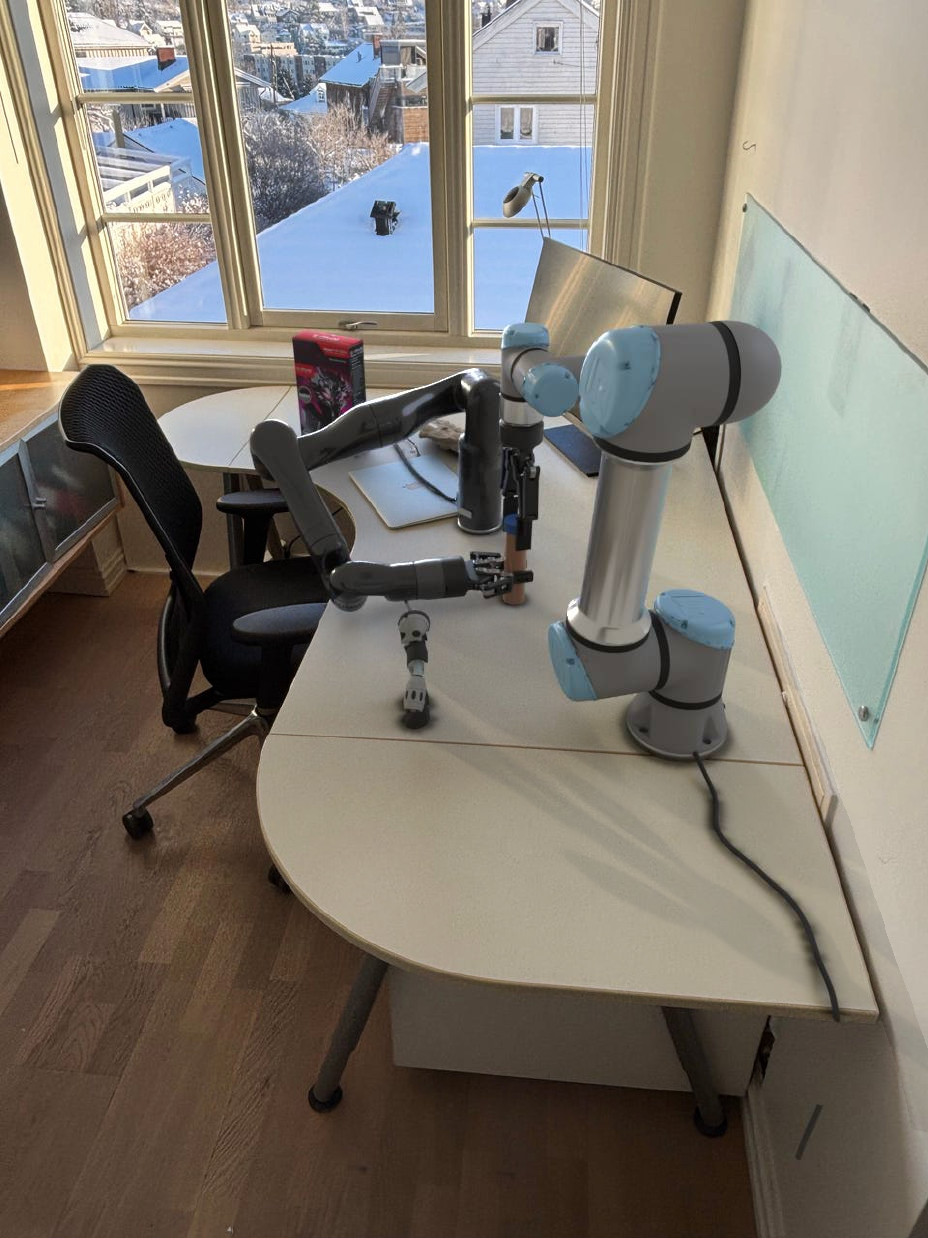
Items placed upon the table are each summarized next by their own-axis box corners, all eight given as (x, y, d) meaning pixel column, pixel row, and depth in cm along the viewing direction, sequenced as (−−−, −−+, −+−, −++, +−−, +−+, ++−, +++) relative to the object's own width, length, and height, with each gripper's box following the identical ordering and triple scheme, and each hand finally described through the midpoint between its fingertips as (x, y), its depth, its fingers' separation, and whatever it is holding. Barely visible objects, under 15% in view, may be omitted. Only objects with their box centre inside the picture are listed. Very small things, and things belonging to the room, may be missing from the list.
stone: (402, 443, 226) (407, 419, 224) (421, 434, 240) (426, 412, 237) (483, 468, 223) (489, 444, 220) (497, 458, 236) (503, 435, 234)
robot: (432, 752, 138) (431, 644, 127) (400, 753, 138) (395, 645, 127) (430, 673, 154) (428, 571, 143) (401, 674, 154) (397, 571, 143)
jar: (509, 591, 177) (512, 514, 167) (528, 597, 175) (532, 520, 166) (499, 601, 174) (501, 523, 164) (518, 607, 172) (521, 529, 163)
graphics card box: (299, 442, 234) (289, 335, 219) (315, 433, 239) (306, 328, 224) (356, 456, 228) (349, 346, 213) (371, 446, 233) (365, 338, 218)
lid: (511, 520, 169) (511, 511, 168) (534, 526, 167) (534, 517, 166) (499, 531, 165) (499, 521, 164) (522, 537, 163) (522, 528, 162)
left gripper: (432, 576, 176) (519, 567, 179) (446, 616, 165) (538, 606, 168) (432, 541, 172) (521, 533, 175) (445, 580, 161) (540, 571, 163)
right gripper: (564, 439, 147) (555, 563, 160) (523, 396, 163) (518, 512, 176) (519, 444, 146) (514, 569, 158) (482, 400, 161) (480, 517, 174)
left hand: (529, 569), depth 171 cm, fingers closed on jar, 4 cm apart
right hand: (516, 539), depth 167 cm, fingers open, 7 cm apart
